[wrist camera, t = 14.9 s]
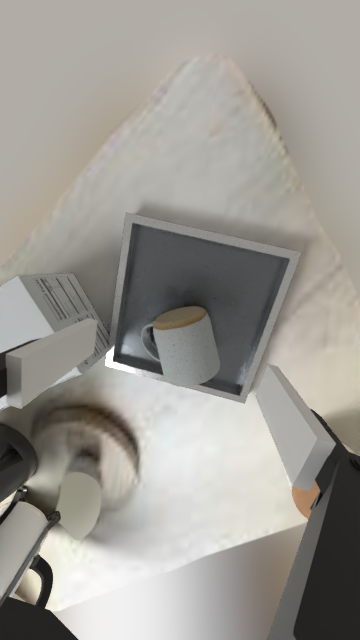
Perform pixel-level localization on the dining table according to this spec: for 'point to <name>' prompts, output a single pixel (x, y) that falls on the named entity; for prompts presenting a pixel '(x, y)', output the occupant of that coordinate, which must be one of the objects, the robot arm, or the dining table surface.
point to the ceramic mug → (183, 346)
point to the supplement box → (46, 314)
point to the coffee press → (23, 546)
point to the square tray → (198, 297)
